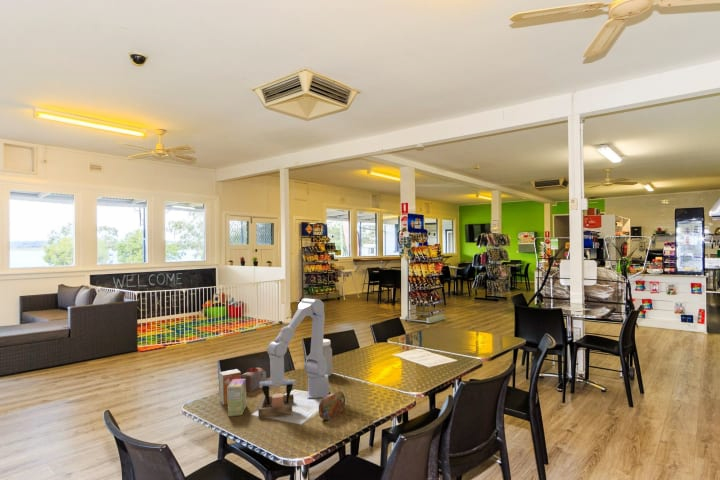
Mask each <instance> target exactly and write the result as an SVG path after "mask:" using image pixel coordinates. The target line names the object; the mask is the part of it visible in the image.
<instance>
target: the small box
mask: <svg viewBox="0 0 720 480" xmlns="http://www.w3.org/2000/svg"><path fill="white" fill-rule="evenodd" d="M218 375H219V376H218V377H219V379H218V380H219V383H218V384H219V401H220V403H221V404H222V405H223V406H225V405H228V398H227V387H228V386H229V384H230V383H231V381H232V380H233V379H241V375H242V372H241V371H240V370H239V369H238V368H235V369H230V370H229V369H228V370H225V371H219V374H218Z"/></svg>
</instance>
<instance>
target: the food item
mask: <svg viewBox="0 0 720 480" xmlns="http://www.w3.org/2000/svg"><path fill="white" fill-rule="evenodd" d="M246 370H247V372H245V373H243V374H242V373H241V379H246V393H248V394H250V393H252V392H253V391H254V390H258V389H261V388H260V382H262V381H267V372H266V371H265V370H264V369H263V368H261V367H249V368H247V369H246Z"/></svg>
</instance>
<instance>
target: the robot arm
mask: <svg viewBox="0 0 720 480" xmlns="http://www.w3.org/2000/svg"><path fill="white" fill-rule="evenodd" d="M325 314H326V313H325V303H324V302H323V301H322V300H321V299H320V298H307V297H304V298H302V299H301V301H300V302H299V303H298V305H297V310H296V311H295V313H294V315H293V317H292V318H291V320H290V322H289V323H288V325H287V326H283V327H281V329H280V331H279V333H278V335H277V336H276V338H274V340H273V341H271V342H270V343H269V344H268V345H267V348H266V352H267V354H268V358H269V364H270V365H269V367H270V368H269V370H270V371H269V372H270V378H269V380H266V381H262V382H260V388H259V389H261V388H262V389H261V391H262V392H263V394H264V395H263V396H265V397H266V400H267V404H268V405H267V406H270V405H269V404H270V397H269V396H270V387H283V386H284V387H285V386H286V387H285V392H286V394H285V395H287V398H286V404H285V405H288V399H289V395H290V394H291V393H292V390H293V386H296V379H287V378H285V354H287V351H288V347H289V343H290V342H291V340H292V339H293V338H294V336H295V330H296V329H297V327H298V326H299V325H300V324H301V322H302V321H303V320H304V319H305V317H310V318H311V319H312V323H311V338H310V339H311V340H310V351H309V352H310V353H309V354H308V355H307V356H306V360H305V362H304V366H303V369H304V371H305V372H306V375H307V379H308V380H307V384H308V385H307V387H308V388H307V390H308V391H307V398H308V399H316V398H319V399H320V398H324V397H326V396H328V395H329V392H330V386H329V376H328V375H325V374H326V372H327V364H326V358H325V357H324V356H323V354H322V350H323V339H324V335H325V334H324V332H325V318H326V315H325Z"/></svg>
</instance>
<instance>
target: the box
mask: <svg viewBox="0 0 720 480" xmlns="http://www.w3.org/2000/svg"><path fill="white" fill-rule="evenodd" d="M227 398H228V404H227V416H228V417H235V416H242V415H243V414H244V411H245V410H246V408H247V392H246V379H233V380H232V381H231V383H230V384H229V386H228V387H227Z"/></svg>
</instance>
